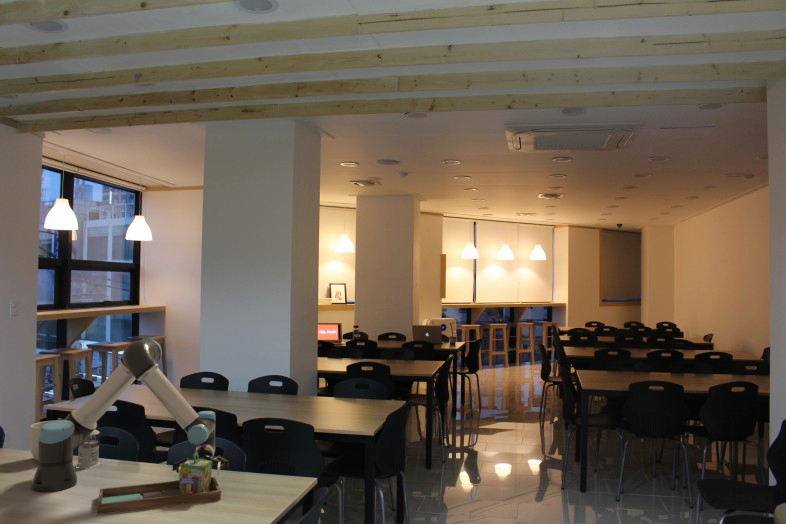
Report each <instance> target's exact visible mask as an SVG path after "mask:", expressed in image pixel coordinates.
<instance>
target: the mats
mask: <svg viewBox="0 0 786 524" xmlns="http://www.w3.org/2000/svg"><path fill="white" fill-rule="evenodd" d="M173 495H179V489H173V490H164V491H163V496H162V491H155V492H146V493H142V497H143V498H142V499H147V498H156V497H165V496H173Z"/></svg>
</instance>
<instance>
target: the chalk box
mask: <svg viewBox="0 0 786 524" xmlns="http://www.w3.org/2000/svg"><path fill="white" fill-rule="evenodd" d="M194 453H195V452H194ZM194 453H193V456H192V458H193V457H194V459H191V458H188V459H189V460H187V461H186V462H184V463H183V464H182V465H181V471H180V476H179V480H180V484H179V495H182V494H191V493H200V492H208V491H211V486H210V484H211V477H212V473H213V469H212V468H213V466H212V462H213V461H209V460H202V459H199V456H198V452H196V453H195V454H194ZM196 456H197V459H195V457H196Z"/></svg>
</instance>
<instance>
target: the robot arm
mask: <svg viewBox="0 0 786 524" xmlns="http://www.w3.org/2000/svg"><path fill="white" fill-rule="evenodd" d="M162 355H163V350H162V347H161V345H160V344H159V343H158V342H157V341H156V340H154V339H151V338H142V339H139V340H136V341H132V342H130V343H129V344H128V345H126V347H125V348H124V350H123V352H122V356H121V358H119V363H120V364H119V366H117V368H116V369H115V370H114V371H112V372H111V374H109V376H108V377H107V378H106V380H105V381H104V382H102V384H101V385H100V386H99V387H98V388H97V389H96V390H95V391H94V393H92V394H91V396H90V397H89V398H88V399H87V400H86V401H85V402H84V404H82V405H81V406H80V407H79V408H78V409H77V408H76V409H72V410H71V412H69V414H68V415H67V416H66V417H65V418H64V419H61V420H60V419H58V421H55V420H52V421H53V422H49V423H46V424H44V425H43V426H42V427H41V428H40V432H39V436H38V437H39V448H38V460H37V468H36V471H35V474H34V476H33V479H32V481H31V490H32V491H35V492H38V493H39V492H41V493H42V492H43V493H44V492H45V493H47V491H49V492H56V491H55V490H58V491H62V490H61V489H63V490H66V488H67V489H70V488H73V487H74V486H76V485H77V483H78V476H77V472H76V468H75V466H74V464H73V463H74V461H73V460H74V459H73V458H74V450H75V449H76V448H77V447H78V448H79V446H81V444H83V443H85V442H86V441H89V439H90V437H91V436H90V435H91V433H92V432H93V431H94V430H96V428H97V427H98V423H97V422H99V419H101V418H102V417H103V416H104V414H106V412H107V411H108V410H109V409H110V408H111V407H112V405H114V403H115V402H116V401H117V400H118V399H119V398H120V397H121V396H122V395H123V394H124V392H125V391H127V389H128V388H129V387H130V386H131V385H132V383H134V382H135V380H137V381H141V382H142V383H143V384H144V385H145V386H146V387H147V389H148V390H149V391H150V392H151V393H152V395H154V397H155V398H156V399H157V401H159V403H160V404H161V405H162V406H163V407H164V409H165V410H166V411H167V412H168V414H170V416H171V417H172V419H174V421H176V422H177V424H178V425H179V426H180V427H181V429H182V430H183V431H184V432H185V433H186V435H187V440H188V441H189V443H190V444H191V445H195V451H194V453H193V455H194V454H195V453H196V452H198V456H199V459H202V460H209V461H213V462H212V468H213V467H215V468H217V475H220V474H221V471H222V470H223V471H224V468H225V469H228V468H230V466H229V465H230V461H229V460H228V459H226V458H224V457H222V456H221V455H220V454H219V455H217V456H216V457H214V456H215V452H216V420H217V419H216V412H214V411H213V410H203V411H199V412H196V410H195V409H194V408H193V407H192V406H191V405H190V404H189V402H188V401H187V400H186V399H185V398H184V397H183V395H182V394H181V393H180V392H179V391H178V389H177V388H176V387H175V386H174V384H172V382H171V381H170V380H169V379H168V378H167V377H166V376H165V374H164V373H163V371H161V369H160V368H159V362H160V360H161V359H162V357H163V356H162ZM189 459H194V457H193V456H192V457H191V458H188V456H184V457H183V458H182V459H179V460H177V461H176V462H173V463H172V471H173V472H175V471H176V473H177V475H178V476H177V477H179V478H180V471H181V465H182V464H183V463H184V462H186V461H187V460H189ZM195 459H197V456H196V457H195Z"/></svg>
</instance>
